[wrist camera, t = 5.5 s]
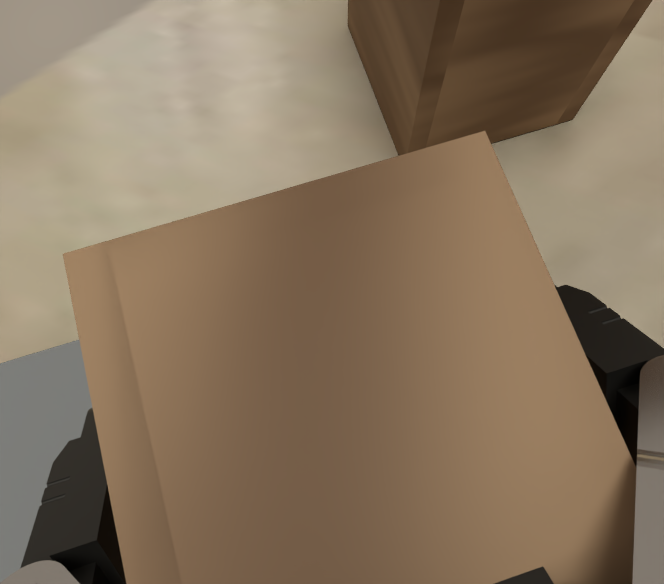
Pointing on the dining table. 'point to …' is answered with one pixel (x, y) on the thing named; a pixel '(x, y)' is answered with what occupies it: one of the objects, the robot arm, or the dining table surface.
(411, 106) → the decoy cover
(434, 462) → the brown rectangular block
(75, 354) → the slate mat
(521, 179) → the dining table surface
